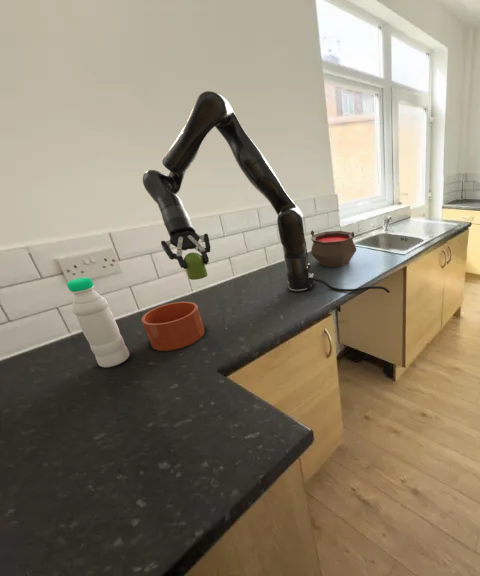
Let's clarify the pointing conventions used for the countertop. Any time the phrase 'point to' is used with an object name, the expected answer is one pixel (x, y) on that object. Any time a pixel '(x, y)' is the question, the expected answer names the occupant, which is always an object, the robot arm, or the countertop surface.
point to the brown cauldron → (333, 247)
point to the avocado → (195, 266)
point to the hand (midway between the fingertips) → (196, 265)
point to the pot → (173, 325)
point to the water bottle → (97, 323)
